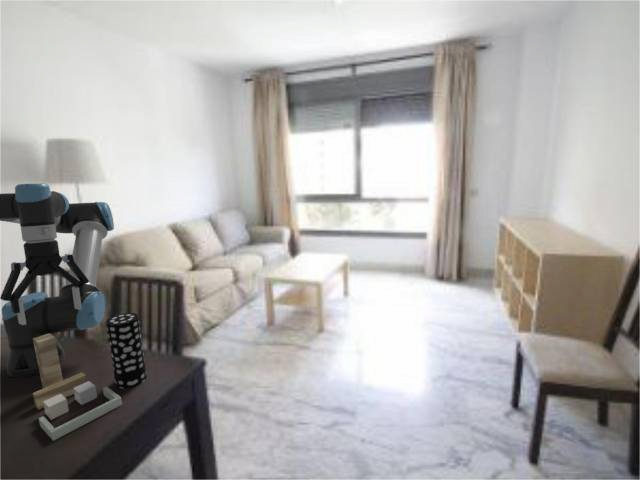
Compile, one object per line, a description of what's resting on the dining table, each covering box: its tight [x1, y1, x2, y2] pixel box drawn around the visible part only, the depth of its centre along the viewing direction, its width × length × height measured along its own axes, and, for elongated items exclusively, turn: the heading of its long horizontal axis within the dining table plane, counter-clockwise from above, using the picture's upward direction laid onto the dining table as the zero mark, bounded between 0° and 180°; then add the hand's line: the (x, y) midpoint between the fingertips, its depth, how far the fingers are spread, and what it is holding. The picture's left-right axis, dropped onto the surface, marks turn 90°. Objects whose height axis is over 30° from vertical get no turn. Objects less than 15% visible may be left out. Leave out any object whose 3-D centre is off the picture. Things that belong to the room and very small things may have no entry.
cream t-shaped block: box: [32, 333, 88, 411], centre depth 103 cm, size 10×12×16 cm
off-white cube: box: [43, 394, 69, 421], centre depth 96 cm, size 4×4×4 cm
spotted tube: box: [105, 312, 148, 389], centre depth 108 cm, size 8×8×20 cm
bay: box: [38, 385, 123, 442], centre depth 95 cm, size 8×16×2 cm, turn 143°
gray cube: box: [73, 380, 98, 406], centre depth 102 cm, size 4×4×4 cm
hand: (52, 316), depth 103 cm, fingers open, 13 cm apart
